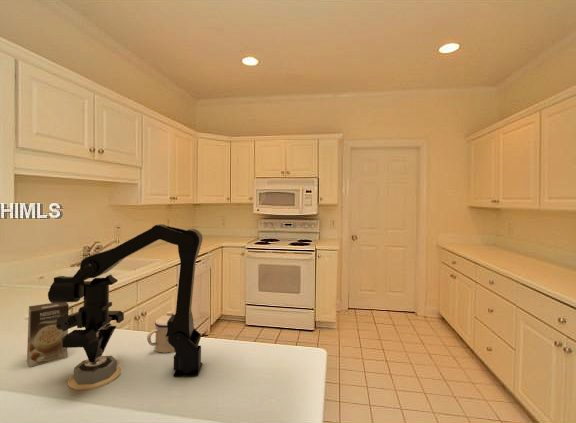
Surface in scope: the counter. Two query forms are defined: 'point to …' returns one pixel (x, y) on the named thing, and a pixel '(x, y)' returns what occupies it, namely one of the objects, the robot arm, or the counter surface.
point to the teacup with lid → (161, 334)
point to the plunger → (98, 361)
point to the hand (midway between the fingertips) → (95, 359)
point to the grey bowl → (94, 375)
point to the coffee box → (45, 333)
